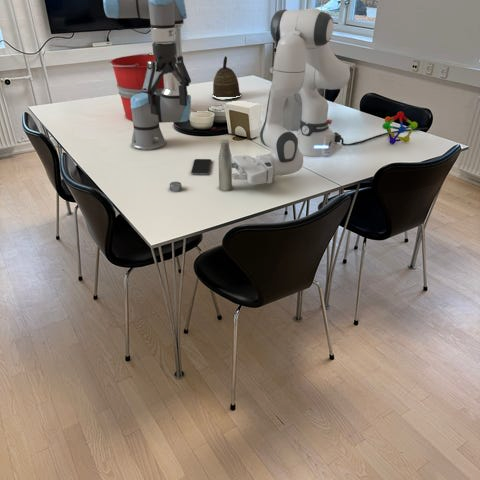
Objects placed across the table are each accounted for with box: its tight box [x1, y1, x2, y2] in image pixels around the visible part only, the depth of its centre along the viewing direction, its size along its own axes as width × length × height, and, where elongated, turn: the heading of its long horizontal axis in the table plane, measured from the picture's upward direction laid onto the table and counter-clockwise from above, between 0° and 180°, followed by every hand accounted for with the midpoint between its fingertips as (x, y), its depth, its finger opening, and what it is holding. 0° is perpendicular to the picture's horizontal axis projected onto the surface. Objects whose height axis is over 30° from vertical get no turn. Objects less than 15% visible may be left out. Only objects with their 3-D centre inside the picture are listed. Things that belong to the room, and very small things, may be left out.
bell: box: [212, 56, 242, 97], centre depth 278 cm, size 19×26×20 cm
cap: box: [169, 181, 182, 193], centre depth 166 cm, size 4×4×2 cm
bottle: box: [218, 139, 233, 192], centre depth 162 cm, size 5×5×18 cm
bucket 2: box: [269, 66, 326, 131], centre depth 226 cm, size 30×30×28 cm
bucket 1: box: [107, 51, 164, 122], centre depth 239 cm, size 35×35×30 cm
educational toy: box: [382, 110, 418, 145], centre depth 207 cm, size 16×13×15 cm
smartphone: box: [190, 158, 212, 176], centre depth 184 cm, size 7×1×15 cm
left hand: (169, 109), depth 151 cm, fingers open, 13 cm apart
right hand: (228, 171), depth 165 cm, fingers open, 8 cm apart
